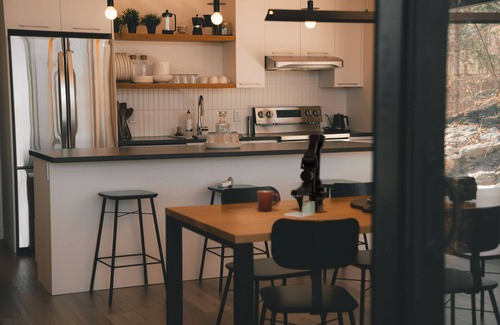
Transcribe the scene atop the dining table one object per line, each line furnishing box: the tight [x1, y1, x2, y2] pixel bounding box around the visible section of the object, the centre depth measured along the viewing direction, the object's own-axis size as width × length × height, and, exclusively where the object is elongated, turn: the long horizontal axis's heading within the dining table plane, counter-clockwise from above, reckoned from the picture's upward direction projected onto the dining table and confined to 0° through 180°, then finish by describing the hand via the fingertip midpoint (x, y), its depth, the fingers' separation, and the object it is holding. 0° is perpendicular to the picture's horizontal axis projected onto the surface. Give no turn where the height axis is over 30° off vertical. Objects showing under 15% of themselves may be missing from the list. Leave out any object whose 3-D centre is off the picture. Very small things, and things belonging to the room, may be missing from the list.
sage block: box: [301, 200, 316, 215], centre depth 359 cm, size 4×4×6 cm
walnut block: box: [315, 205, 324, 213], centre depth 366 cm, size 5×5×3 cm
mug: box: [256, 190, 280, 213], centre depth 363 cm, size 12×9×10 cm
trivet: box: [284, 211, 313, 218], centre depth 351 cm, size 10×10×1 cm
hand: (308, 210), depth 359 cm, fingers open, 9 cm apart
